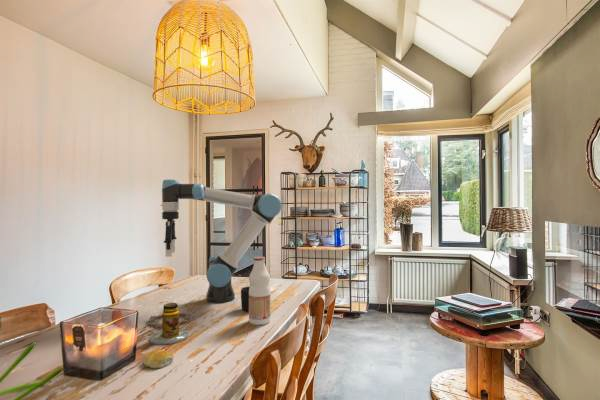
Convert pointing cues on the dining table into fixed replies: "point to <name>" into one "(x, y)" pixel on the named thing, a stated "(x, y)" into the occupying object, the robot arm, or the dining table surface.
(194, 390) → the dining table surface
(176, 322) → the condiment
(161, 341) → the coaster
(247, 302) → the pen holder
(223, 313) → the dining table surface
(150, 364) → the mossy stone
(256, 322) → the fruit juice
